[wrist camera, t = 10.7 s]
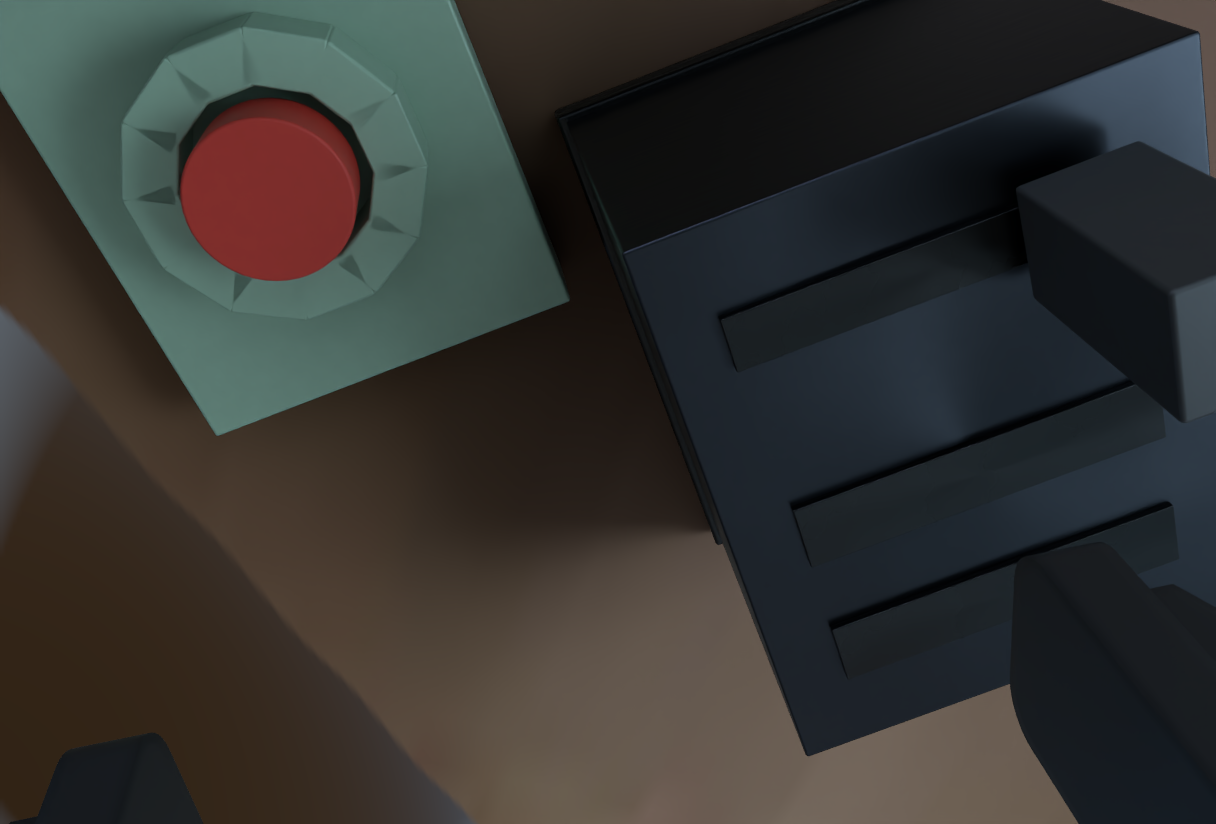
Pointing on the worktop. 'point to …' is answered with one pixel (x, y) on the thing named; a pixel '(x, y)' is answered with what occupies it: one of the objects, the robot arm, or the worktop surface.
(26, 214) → the worktop surface
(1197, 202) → the slider
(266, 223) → the button
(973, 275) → the toaster
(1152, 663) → the robot arm
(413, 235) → the button block
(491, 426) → the worktop surface
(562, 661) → the worktop surface
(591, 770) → the worktop surface
